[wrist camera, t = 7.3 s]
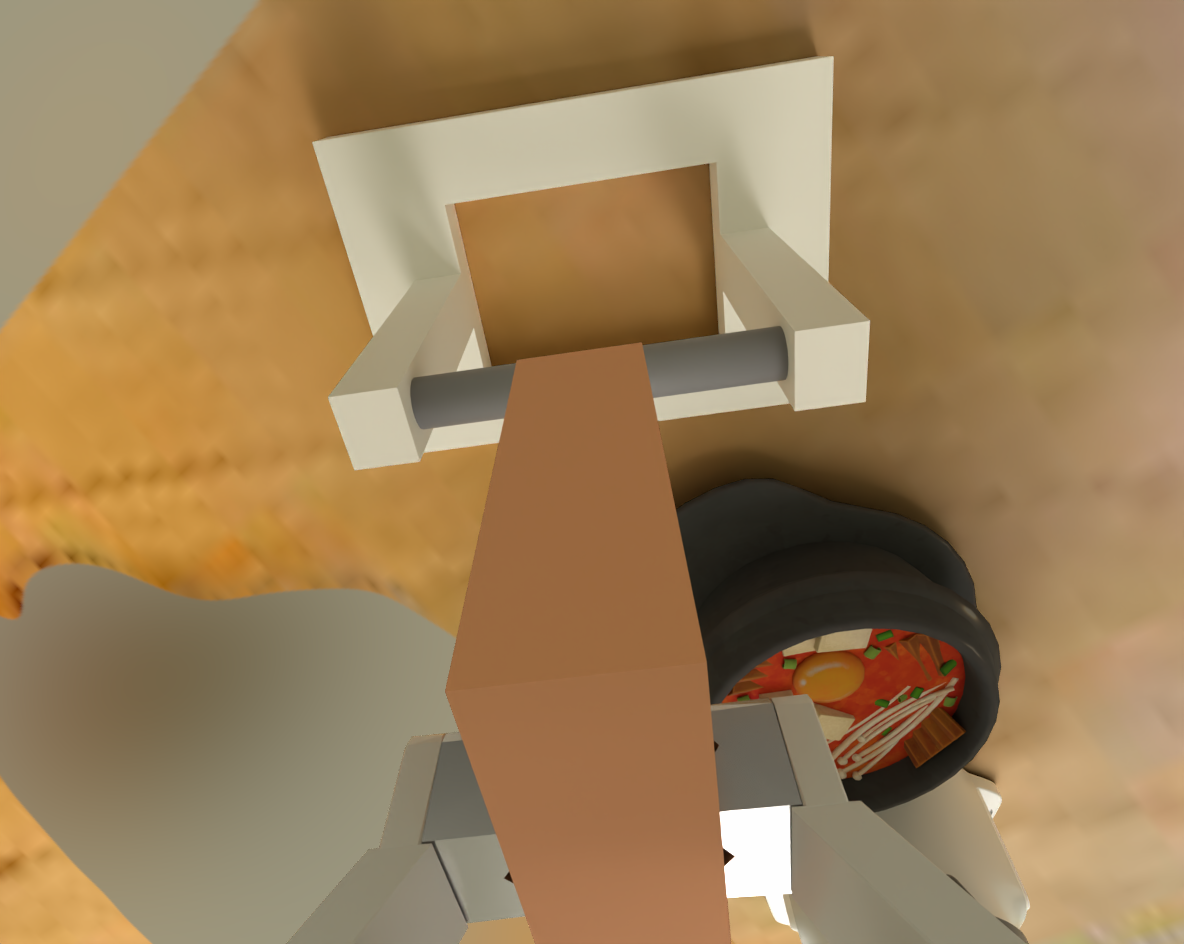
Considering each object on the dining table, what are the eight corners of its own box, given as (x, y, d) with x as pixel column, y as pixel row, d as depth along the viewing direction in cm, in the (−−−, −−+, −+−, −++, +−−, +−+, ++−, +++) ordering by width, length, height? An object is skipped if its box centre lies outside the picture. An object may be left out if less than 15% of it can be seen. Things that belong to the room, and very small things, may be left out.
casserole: (1050, 631, 44) (1144, 745, 36) (815, 779, 51) (854, 899, 43) (785, 384, 35) (837, 469, 28) (545, 602, 42) (537, 716, 35)
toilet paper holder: (818, 56, 28) (997, 56, 16) (813, 381, 35) (935, 553, 23) (328, 137, 29) (148, 194, 17) (418, 435, 36) (336, 625, 24)
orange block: (671, 595, 17) (735, 996, 10) (569, 606, 17) (558, 1010, 10) (641, 342, 14) (706, 661, 7) (516, 360, 14) (445, 690, 7)
